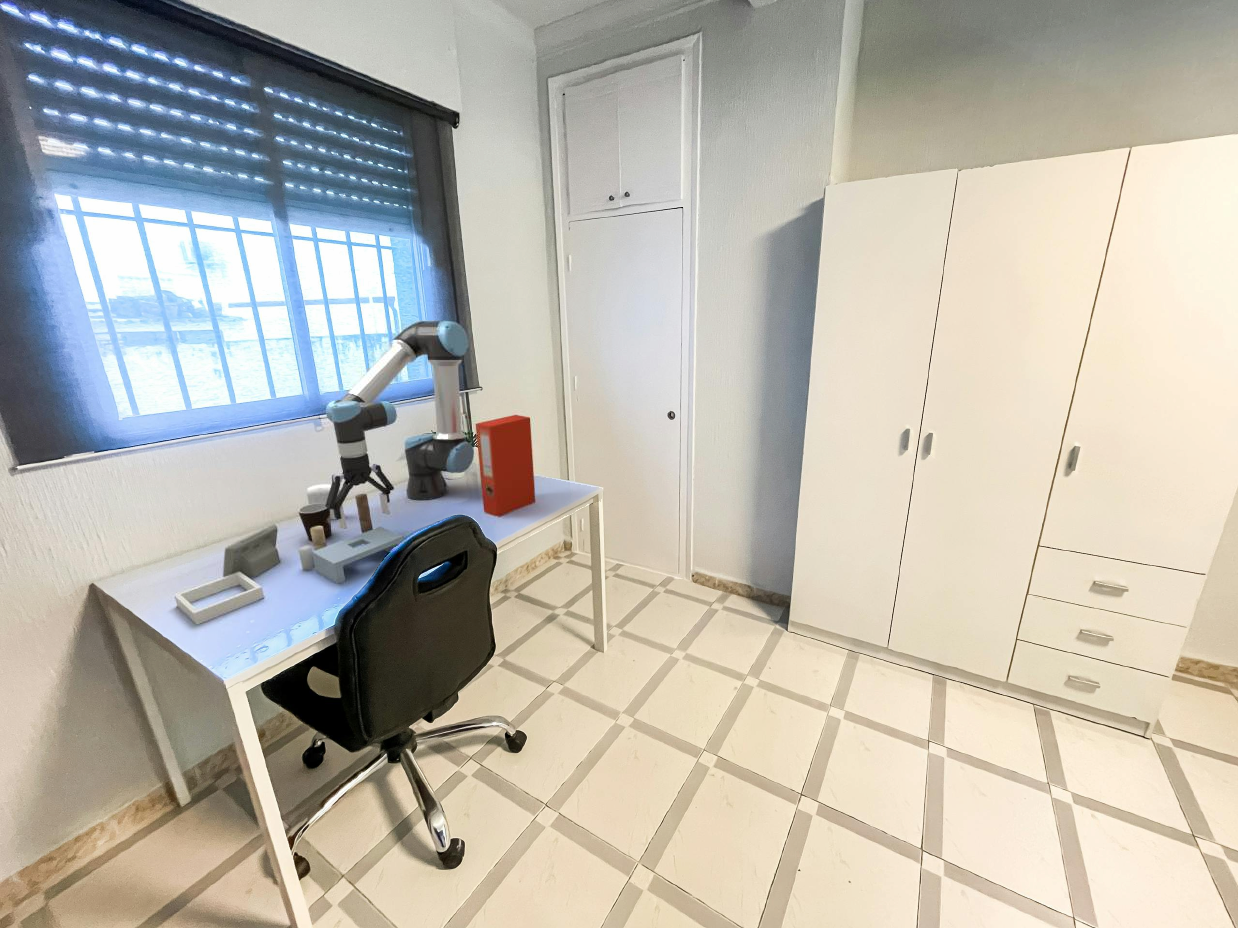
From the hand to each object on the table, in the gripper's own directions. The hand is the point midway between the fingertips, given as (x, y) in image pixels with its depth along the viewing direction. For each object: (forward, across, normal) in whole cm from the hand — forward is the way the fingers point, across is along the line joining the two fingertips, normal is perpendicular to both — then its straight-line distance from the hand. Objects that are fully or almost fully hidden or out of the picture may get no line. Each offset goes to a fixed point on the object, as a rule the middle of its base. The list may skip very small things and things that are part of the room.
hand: (365, 520), depth 159 cm
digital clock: (+7, +28, -10) cm, 30 cm away
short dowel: (+7, +19, +2) cm, 20 cm away
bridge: (+7, +9, +12) cm, 17 cm away
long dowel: (+7, 0, 0) cm, 7 cm away
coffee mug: (+7, +6, -16) cm, 19 cm away
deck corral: (+7, +40, +2) cm, 41 cm away
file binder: (+7, -44, +16) cm, 48 cm away
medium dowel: (+7, +14, -2) cm, 15 cm away
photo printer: (+7, -2, -29) cm, 30 cm away
